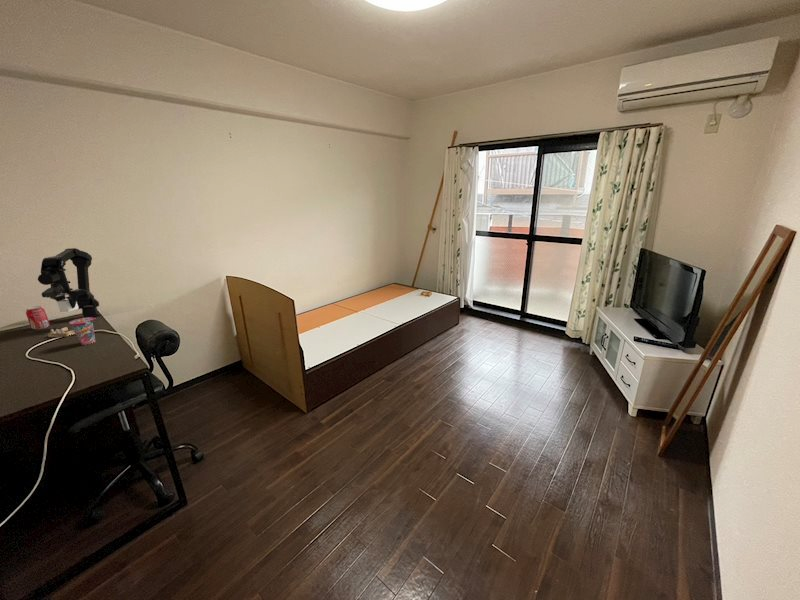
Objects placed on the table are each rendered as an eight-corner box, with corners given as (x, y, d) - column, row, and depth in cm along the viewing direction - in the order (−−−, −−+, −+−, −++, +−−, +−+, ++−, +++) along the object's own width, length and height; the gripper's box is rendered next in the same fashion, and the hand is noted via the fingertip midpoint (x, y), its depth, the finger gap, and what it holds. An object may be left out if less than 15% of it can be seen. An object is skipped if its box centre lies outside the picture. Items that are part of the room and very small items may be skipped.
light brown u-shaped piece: (66, 330, 175) (63, 323, 174) (83, 329, 176) (81, 323, 174) (48, 337, 166) (45, 330, 165) (67, 336, 167) (64, 329, 165)
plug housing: (70, 308, 181) (67, 297, 179) (78, 308, 181) (75, 297, 179) (60, 312, 175) (56, 301, 173) (68, 311, 175) (64, 300, 173)
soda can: (36, 327, 181) (28, 306, 178) (53, 324, 184) (45, 305, 181) (29, 331, 175) (21, 310, 172) (46, 328, 178) (38, 308, 175)
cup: (78, 348, 153) (70, 324, 149) (75, 343, 158) (67, 320, 154) (104, 341, 160) (97, 318, 156) (99, 337, 165) (92, 315, 161)
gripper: (25, 284, 165) (36, 313, 170) (62, 283, 165) (72, 312, 170) (47, 279, 176) (57, 306, 180) (82, 278, 176) (91, 305, 181)
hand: (69, 308), depth 178 cm, fingers closed on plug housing, 4 cm apart
